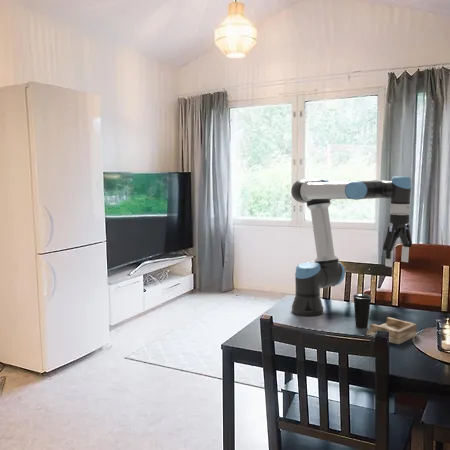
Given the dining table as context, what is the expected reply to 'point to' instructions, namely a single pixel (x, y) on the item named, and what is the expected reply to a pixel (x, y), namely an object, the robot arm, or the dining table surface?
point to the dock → (395, 330)
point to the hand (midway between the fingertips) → (396, 264)
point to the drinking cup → (361, 309)
